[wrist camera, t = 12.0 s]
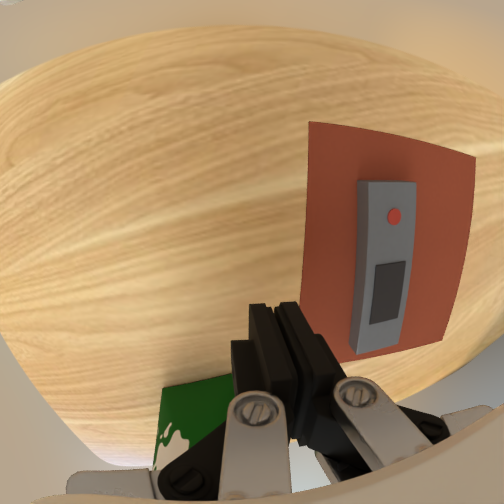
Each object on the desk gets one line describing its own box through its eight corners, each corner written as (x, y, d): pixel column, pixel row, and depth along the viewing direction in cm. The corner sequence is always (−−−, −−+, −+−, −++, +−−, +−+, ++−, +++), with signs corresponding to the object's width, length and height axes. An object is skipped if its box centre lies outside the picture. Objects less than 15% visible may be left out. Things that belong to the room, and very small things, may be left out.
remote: (356, 180, 19) (369, 181, 17) (403, 180, 19) (418, 182, 18) (348, 343, 23) (356, 356, 21) (388, 334, 24) (399, 344, 22)
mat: (308, 121, 18) (309, 121, 17) (474, 157, 20) (475, 157, 20) (292, 368, 23) (292, 369, 23) (441, 339, 25) (441, 340, 25)
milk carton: (268, 419, 25) (311, 595, 6) (186, 436, 25) (187, 602, 6) (244, 360, 22) (291, 606, 3) (147, 382, 22) (113, 594, 3)
